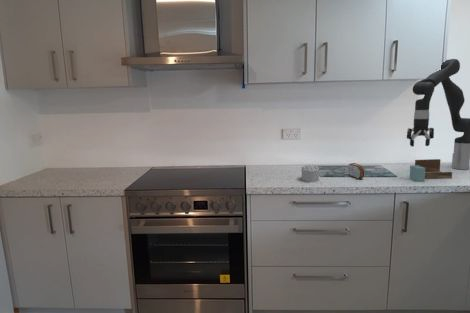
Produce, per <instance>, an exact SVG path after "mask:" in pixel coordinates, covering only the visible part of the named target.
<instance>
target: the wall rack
mask: <svg viewBox="0 0 470 313" xmlns="http://www.w3.org/2000/svg"><path fill="white" fill-rule="evenodd" d="M441 160H442V159H441V158H440V159H439V158H432V159H414V165H418V166H421V167H424V168H425V180H434V179H435V180H437V179H452V178H453V172H451V171H441V170H440V169H441Z"/></svg>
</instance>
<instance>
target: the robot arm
mask: <svg viewBox="0 0 470 313" xmlns="http://www.w3.org/2000/svg"><path fill="white" fill-rule="evenodd" d="M445 60H446V61H445V62H443V63H442V65H441V70H439V71H437V70H436V71H434V72H433V73H431V74H430V75H428V76H427V77H426V78H423V79H421V80H418V81H416V82H415V83H414V84H413V86H412V93H413V94H414V95H416V96H423V97H422V98H420V99H416V100H415V103H414V104H415V106H414V114H413V128H411V127H410V128H409V127H408V128H407V133H406V139H408V140H409V145H410V147H414V146H415V139H416V138H417V137H420V136H423V137H424V138H425V146H426V147H429V146H430V142H431V139H434V137H435V136H434V135H435V133H434V132H435V128H434V127H429V125H430V124H429V123H430V104H431V100H432V96H433V95H434V91H435V87H437V86H438V85H439V84H440V83H441V85H442V89H443V91H444V96H445V99H446V100H445V101H446V104H447V106H448V109H449V113H450V119H451V125H452V130H454V132H457V133H463V134H462V135H461V136H459V137H456V138H454V142H453V143H454V144H453V145H454V146H453V153H452V159H451V168H452V169H455V170H463V171H464V170H465V171H466V170H469V169H470V117H468V118H467V117H461V114H460V111H461V110H462V108H463V107H464V106H463V105H464V104H465V97H464V96H465V95H464V92H463V90H462V88H460V86H459V85H457V84H456V83H455V82H453V80H452V79H451V78H450V77H452V76H455V75H456V74H457V73H459V71H460V70H461V62H460V61H459V59H457V58H450V59H445Z"/></svg>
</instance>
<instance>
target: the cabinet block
mask: <svg viewBox="0 0 470 313" xmlns="http://www.w3.org/2000/svg"><path fill="white" fill-rule="evenodd" d="M409 180H412V181H414V182H416V183H422V182H425V181H426V179H425V168H424V167H421V166H418V165H415V164H414V165H409Z"/></svg>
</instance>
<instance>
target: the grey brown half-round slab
mask: <svg viewBox="0 0 470 313" xmlns="http://www.w3.org/2000/svg"><path fill="white" fill-rule="evenodd" d="M348 174H349V175H350V176H351V177H352V178H355V179H357V180H361V179H364V178H365V169H364V167H363V166H362V165H361V164H358V163H357V162H356V163H355V162H352V163H349V164H348Z"/></svg>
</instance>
